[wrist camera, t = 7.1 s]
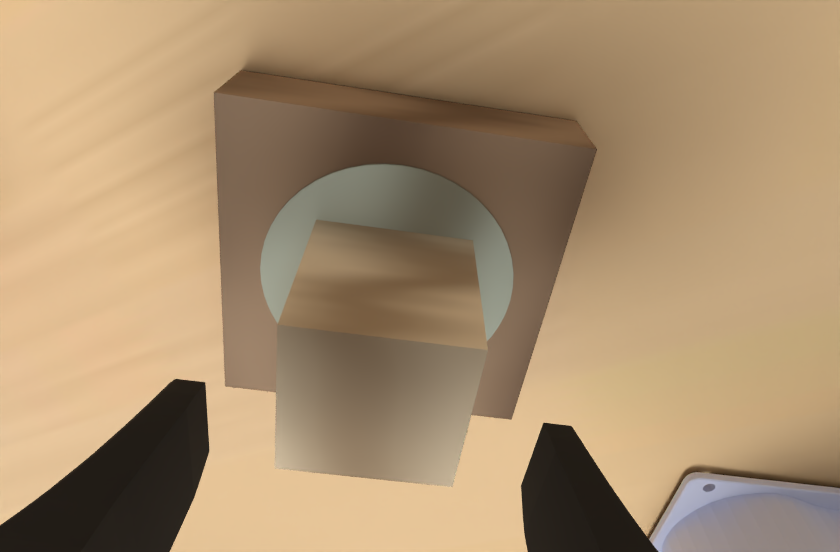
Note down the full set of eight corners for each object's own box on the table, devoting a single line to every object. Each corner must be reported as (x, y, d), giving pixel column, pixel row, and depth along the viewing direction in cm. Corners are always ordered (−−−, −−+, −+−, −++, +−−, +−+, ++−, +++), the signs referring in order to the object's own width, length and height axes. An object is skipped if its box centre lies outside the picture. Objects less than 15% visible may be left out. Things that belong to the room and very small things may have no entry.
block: (472, 240, 17) (488, 350, 13) (446, 360, 19) (452, 487, 15) (316, 219, 17) (277, 325, 12) (309, 343, 19) (274, 468, 15)
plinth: (576, 121, 18) (598, 150, 15) (503, 372, 23) (511, 421, 21) (240, 70, 17) (212, 93, 15) (244, 340, 22) (224, 388, 20)
